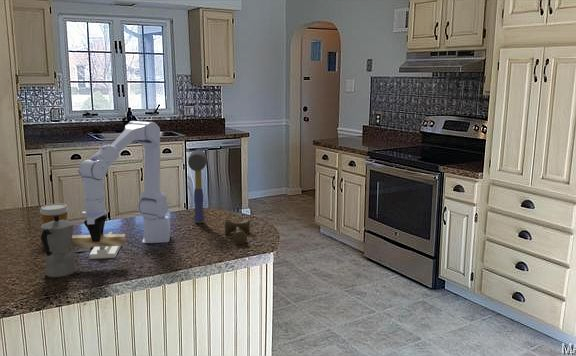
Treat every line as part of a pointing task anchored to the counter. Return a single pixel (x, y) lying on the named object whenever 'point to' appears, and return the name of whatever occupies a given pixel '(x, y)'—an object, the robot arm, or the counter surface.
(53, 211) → the disposable coffee cup
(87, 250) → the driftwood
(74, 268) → the coffeepot
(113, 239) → the oak bar
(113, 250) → the ridge block
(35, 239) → the counter surface
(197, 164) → the rubber mallet
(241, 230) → the kendama
